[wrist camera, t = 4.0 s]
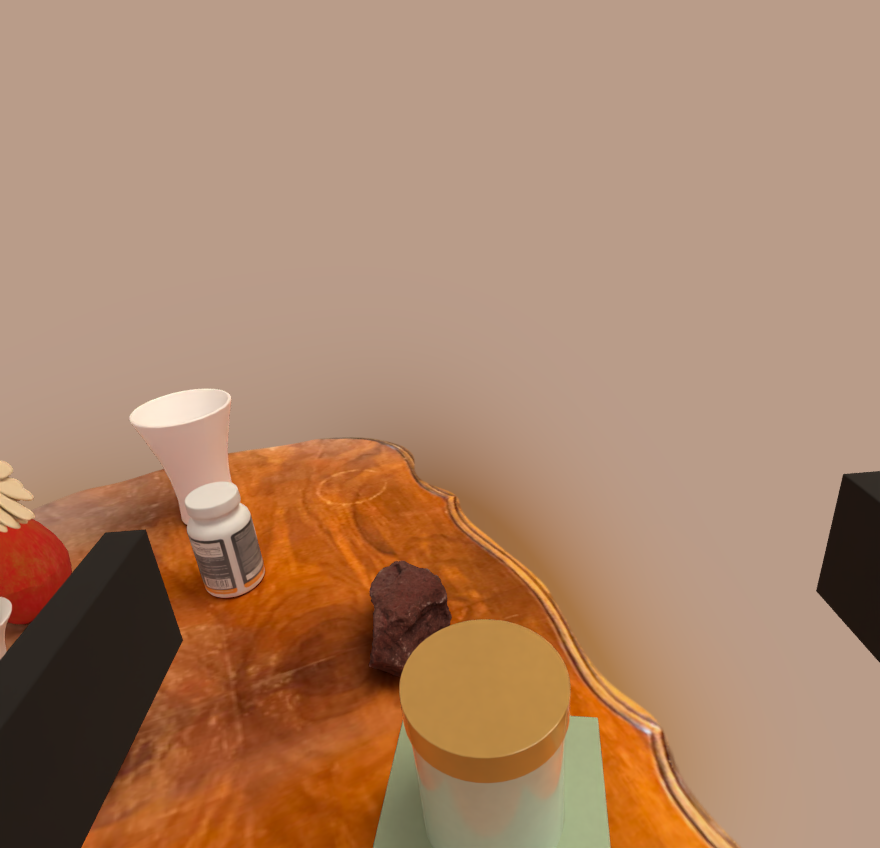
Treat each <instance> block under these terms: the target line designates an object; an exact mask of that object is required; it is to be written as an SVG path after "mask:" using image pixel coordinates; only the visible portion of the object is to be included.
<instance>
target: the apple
mask: <svg viewBox="0 0 880 848" xmlns="http://www.w3.org/2000/svg"><path fill="white" fill-rule="evenodd" d="M19 524H20V526H21V527H20V528H19V529H15V528H11V527H8V526H6V527H7V529H8V531H7V532H1V531H0V597H4V598H6V599H8V600H9V601H10V602H11V604H12V612H11V615H10V617H9V619H8V622H9V623H13V624H27V623H30V622H32V621H33V620H34V618H35V617H36V616H37V615H38V614H39V612H40V611H41V610H42V609H43V607H44V606H45V605H46V604H47V603H48V601H49V600H50V599H51V598H52V597H53V595H54V594H55V593H56V592H57V591H58V589H59V588H60V587H61V586H62V585H63V583H64V582H65V581H66V580H67V578H68V577H69V576H70V575H71V574H72V568H71V562H70V558H69V554H68V551H67V549H66V548H65V546H64V545H63V543H62V542H61V541H60V540H59V539H58V538H57V536H56V535H55V534H54V533H52V532H51V531H50V530H48V529H47V528H46V527H44V526H43V525H42V524H40V523H39V522H37V521H35V520H33V519H31V520H28V523H27V524H21V523H19Z"/></svg>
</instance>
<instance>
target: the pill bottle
mask: <svg viewBox="0 0 880 848" xmlns="http://www.w3.org/2000/svg"><path fill="white" fill-rule="evenodd" d="M240 499H241V498H240V494H239V491H238V488H237V486H236V485H235V484H233V483H230V482H214V483H209V484H206V485H203V486H201V487H199V488H197V489H195V490H193V491H192V492H190V493H189V494H188V495H187V497H186V498H185V507H186V511H187V514H188V515H189V516H190V517H191V518H190V519H189V521H188V524H187V534H188V536H189V539H190V542H191V545H192V548H193V551H194V554H195V557H196V560H197V564H198V567H199V570H200V573H201V576H202V579H203V583H204V585H205V588H206V590H207V591H208V592H209V593H210V594H211V595H213V596H216V597H220V598H230V597H236V596H239V595H242V594H244V593H246V592H248V591H250V590H252V589H253V588H254V587H256V586H257V585H258V584H259V583H260V581H261V580H262V578H263V576H264V573H265V567H264V563H263V559H262V555H261V552H260V548H259V544H258V540H257V536H256V533H255V529H254V525H253V521H252V518H251V514H250V511H249V510H248V508H247V507H246V506H245V505H243V504H241V503H240Z"/></svg>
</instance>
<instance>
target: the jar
mask: <svg viewBox="0 0 880 848" xmlns="http://www.w3.org/2000/svg"><path fill="white" fill-rule="evenodd" d="M399 696H400V703H401V709H402V716H403V722H404V727H405V730H406V733H407V736H408V738H409V740H410V742H411V744H412V751H413V757H414V764H415V770H416V777H417V784H418V790H419V797H420V804H421V810H422V817H423V823H424V827H425V831H426V834H427V836H428V839H429V841H430V843H431V845H432V846H433V848H556V847H557V844H558V842H559V840H560V838H561V835H562V832H563V828H564V822H565V735H566V733H567V730H568V726H569V721H570V679H569V674H568V671H567V668H566V666H565V664H564V661H563V659H562V658H561V656H560V655H559V653H558V652H557V651H556V650H555V648H554V647H553V646H552V645H551V644H550V643H549V642H548V641H546V640H545V639H544V638H543V637H541V636H540V635H538V634H537V633H535V632H533V631H532V630H530V629H528V628H525V627H523V626H520V625H518V624H514V623H511V622H506V621H501V620H491V619H480V620H470V621H465V622H460V623H457V624H453V625H450V626H448V627H445V628H443V629H441V630H439V631H437V632H435V633H434V634H432V635H431V636H429V637H428V638H426V639H425V640H424V641H423V642H422V643H420V644H419V645H418V647H417V648H416V649H415V650H414V651H413V652H412V654H411V655H410V657H409V658H408V660H407V662H406V664H405V666H404V668H403V671H402V674H401V678H400V683H399Z"/></svg>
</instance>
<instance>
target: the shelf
mask: <svg viewBox="0 0 880 848" xmlns="http://www.w3.org/2000/svg"><path fill="white" fill-rule="evenodd" d="M373 848H433V846H432V845H431V843H430V841H429V839H428V836H427V834H426V831H425V827H424V823H423V817H422V810H421V804H420V797H419V790H418V784H417V777H416V770H415V764H414V757H413V751H412V744H411V742H410V740H409V738H408V736H407V733H406V730H405V727H404V722H402V726H401V730H400V734H399V739H398V743H397V747H396V751H395V756H394V760H393V764H392V768H391V772H390V777H389V781H388V785H387V789H386V794H385V798H384V802H383V806H382V811H381V815H380V819H379V823H378V828H377V832H376V836H375V840H374V845H373ZM556 848H611V846H610V835H609V825H608V815H607V805H606V795H605V785H604V775H603V765H602V755H601V745H600V735H599V724H598V718H594V717H579V716H570V721H569V726H568V730H567V733H566V735H565V822H564V828H563V832H562V835H561V838H560V840H559V842H558V844H557V847H556Z"/></svg>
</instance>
